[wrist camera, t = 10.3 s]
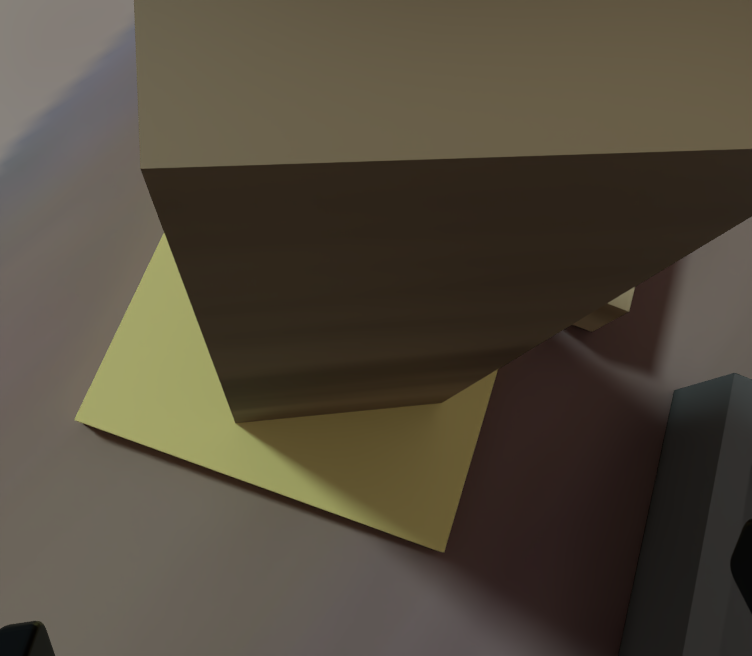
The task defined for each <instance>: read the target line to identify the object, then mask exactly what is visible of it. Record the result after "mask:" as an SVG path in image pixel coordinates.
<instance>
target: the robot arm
mask: <svg viewBox="0 0 752 656" xmlns="http://www.w3.org/2000/svg"><path fill="white" fill-rule="evenodd" d="M730 569H731V573H732V576H733V579H734V581H735V583H736V585H737V587H738V589H739V591H740V593H741V594H742V596H743V598H744V600H745V602H746V604H747V606H748V608H749V610H750V612H751V614H752V518H751V519H749V520H748V521H747V522H746V523H745V524H744V526H743V529H742V531H741V534H740V536H739V538H738V541H737V543H736V546H735V548H734V551H733V553H732V556H731V559H730ZM0 656H55V654H54V651H53V648H52V645H51V642H50V639H49V636H48V633H47V630H46V628H45V626H44V624H43V623H42V622H40V621H31V622H24V623H17V624H10V625H7V626H4V627H3V628H1V629H0Z"/></svg>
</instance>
